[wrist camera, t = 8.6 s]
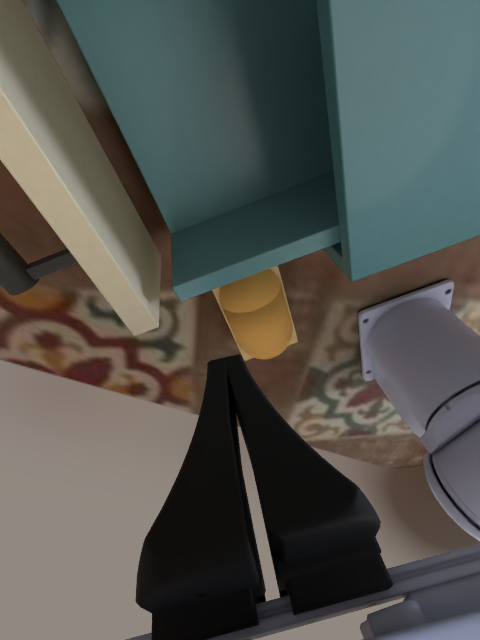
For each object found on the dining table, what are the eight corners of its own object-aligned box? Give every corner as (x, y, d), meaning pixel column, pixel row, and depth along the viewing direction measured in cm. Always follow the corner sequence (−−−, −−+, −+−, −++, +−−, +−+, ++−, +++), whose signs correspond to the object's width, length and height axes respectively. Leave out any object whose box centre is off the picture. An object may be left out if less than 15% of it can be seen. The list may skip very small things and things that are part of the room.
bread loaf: (287, 318, 25) (306, 358, 21) (237, 336, 25) (249, 379, 22) (263, 234, 20) (283, 268, 16) (203, 257, 20) (210, 295, 17)
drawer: (69, 291, 19) (32, 374, 14) (-154, 25, 11) (-444, -21, 6) (373, 175, 18) (458, 216, 13) (365, -210, 10) (580, -521, 5)
